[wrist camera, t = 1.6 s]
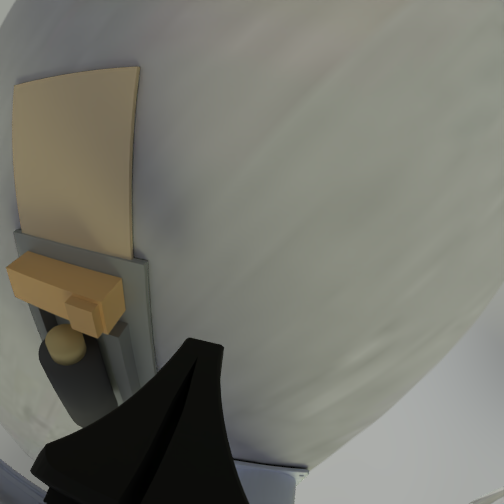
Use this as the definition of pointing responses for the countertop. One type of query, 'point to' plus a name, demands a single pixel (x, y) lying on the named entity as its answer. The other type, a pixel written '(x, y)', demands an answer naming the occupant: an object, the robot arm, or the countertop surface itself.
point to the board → (85, 200)
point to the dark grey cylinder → (77, 374)
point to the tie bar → (69, 292)
